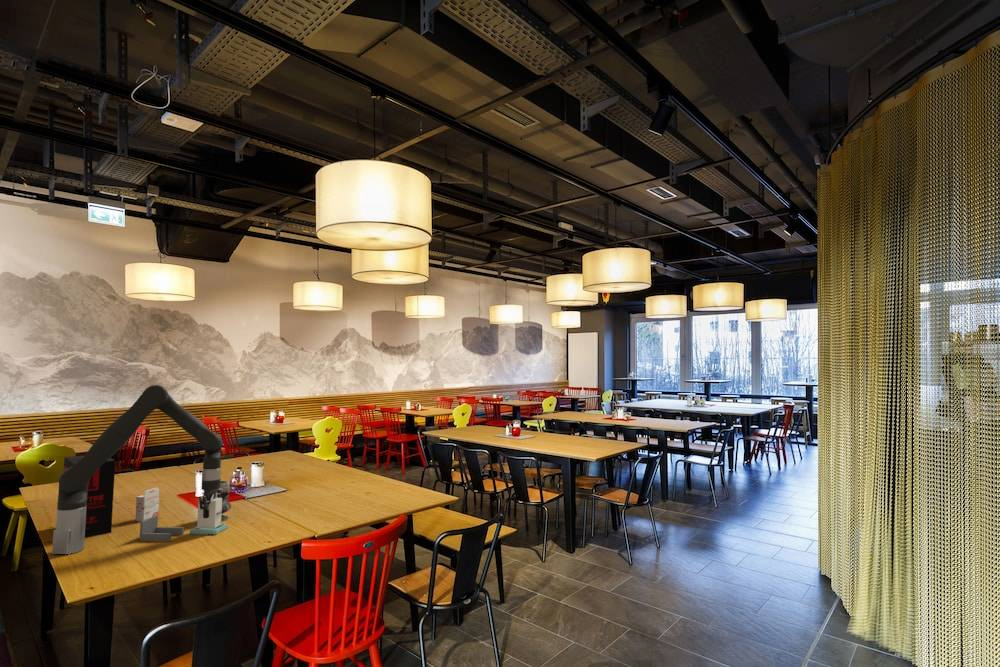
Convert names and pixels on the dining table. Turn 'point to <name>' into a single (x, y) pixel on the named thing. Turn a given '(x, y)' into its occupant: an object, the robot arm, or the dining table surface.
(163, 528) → the bay
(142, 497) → the ink cartridge box
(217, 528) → the tray
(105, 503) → the product box
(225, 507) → the apothecary jar
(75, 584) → the dining table surface
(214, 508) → the cream upright block
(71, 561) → the dining table surface
